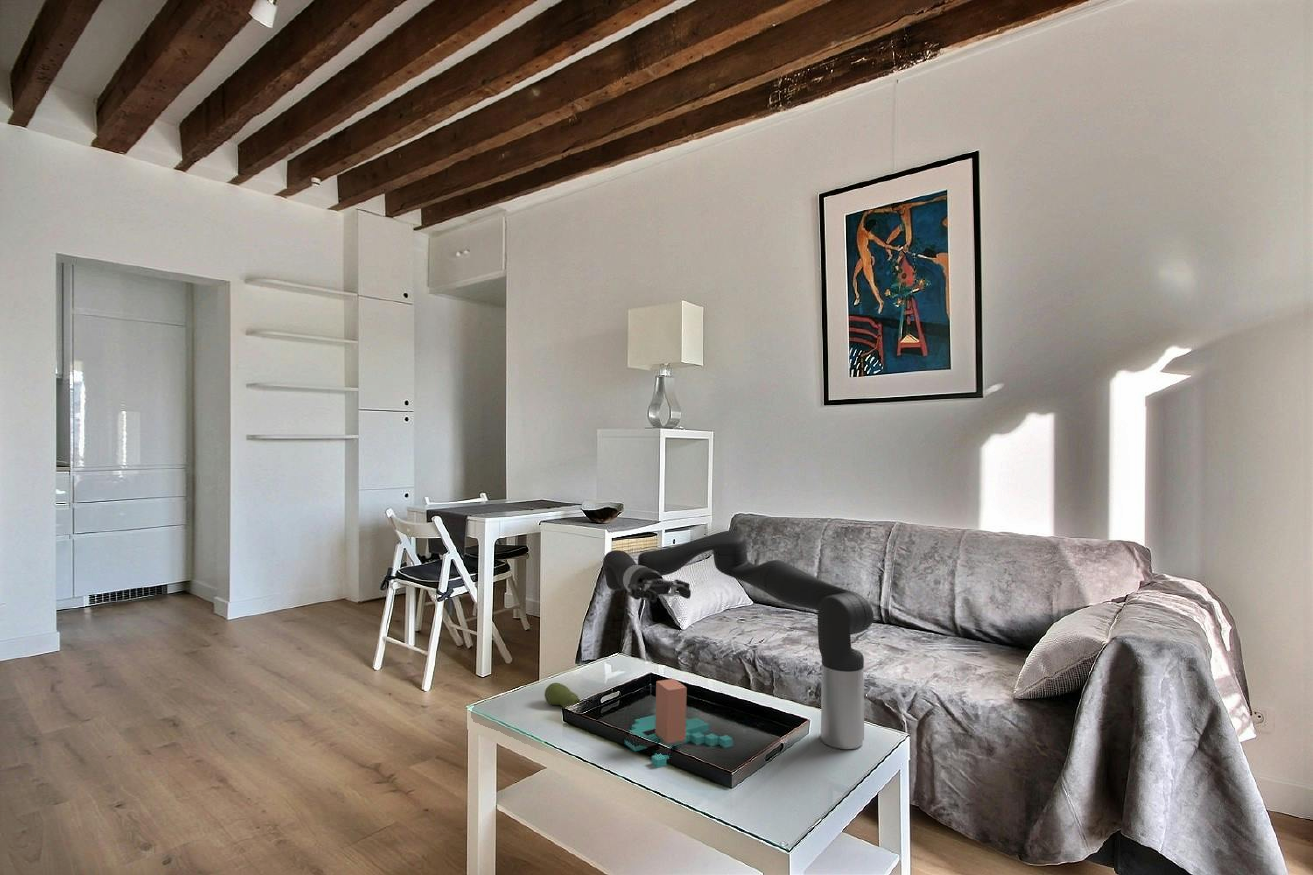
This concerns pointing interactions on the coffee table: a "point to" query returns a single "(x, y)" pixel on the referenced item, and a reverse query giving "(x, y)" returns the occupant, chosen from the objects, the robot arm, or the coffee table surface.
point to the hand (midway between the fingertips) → (672, 595)
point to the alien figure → (693, 734)
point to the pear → (560, 695)
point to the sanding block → (670, 711)
